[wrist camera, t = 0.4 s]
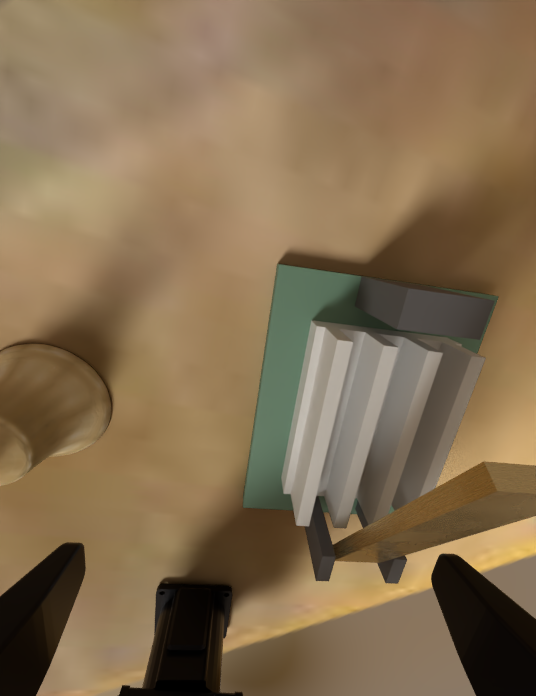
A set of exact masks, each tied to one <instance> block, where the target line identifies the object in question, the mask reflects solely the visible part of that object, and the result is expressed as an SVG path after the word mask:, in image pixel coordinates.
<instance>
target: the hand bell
mask: <svg viewBox="0 0 536 696" xmlns="http://www.w3.org/2000/svg"><path fill="white" fill-rule="evenodd" d="M110 417H111V401H110V397H109V393H108V390H107V388H106V386H105V384H104V382H103V381H102V379H101V378H100V377H99V375H98V374H97V373H96V371H95V370H94V369H93V368H92V367H91V366H90V365H89V364H87V363H86V362H85V361H83V360H82V359H80V358H79V357H77V356H75V355H74V354H72V353H70V352H68V351H66V350H63V349H61V348H57V347H54V346H50V345H45V344H23V345H16V346H12V347H9V348H6V349H4V350H2V351H0V486H1V485H6V484H9V483H12V482H15V481H17V480H18V479H20V478H22V477H23V476H25V475H26V474H27V473H28V472H29V471H30V470H32V469H33V468H34V467H35V466H36V465H38V464H39V463H41V462H42V461H43V460H45V459H46V458H48V457H49V456H62V455H68V454H72V453H75V452H78V451H81V450H83V449H85V448H87V447H89V446H90V445H92V444H93V443H95V442H96V441H97V440H98V439H99V438H100V437H101V436H102V435H103V433H104V432H105V430H106V428H107V426H108V424H109V421H110Z"/></svg>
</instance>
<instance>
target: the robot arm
mask: <svg viewBox="0 0 536 696" xmlns="http://www.w3.org/2000/svg"><path fill="white" fill-rule="evenodd" d="M85 568H86V567H85V552H84V545H83V544H82V543H69V542H68V543H64V544H62V545H61V546H59V547H58V548H57V549H56V550H55V551H53V552H52V553H51V554H50V555H49V556H47V557H46V558H45V559H44V560H43V561H42V562H40V563H39V564H38V565H37V566H36V567H34V568H33V569H32V570H31V571H30V572H29V573H27V574H26V575H25V576H24V577H23V578H21V579H20V580H19V581H18V582H17V583H16V584H14V585H13V586H12V587H11V588H10V589H8V590H7V591H6V592H5V593H4V594H2V595H1V596H0V696H36V694H37V692H38V690H39V688H40V686H41V684H42V682H43V680H44V677H45V675H46V673H47V671H48V669H49V666H50V664H51V662H52V659H53V657H54V654H55V652H56V649H57V646H58V644H59V641H60V639H61V636H62V633H63V631H64V628H65V626H66V623H67V620H68V618H69V615H70V613H71V610H72V607H73V605H74V602H75V600H76V597H77V594H78V592H79V589H80V587H81V584H82V581H83V579H84V575H85ZM431 580H432V586H433V589H434V591H435V594H436V597H437V599H438V602H439V605H440V608H441V610H442V613H443V616H444V618H445V621H446V624H447V626H448V629H449V632H450V634H451V637H452V640H453V642H454V645H455V648H456V650H457V653H458V655H459V658H460V660H461V663H462V665H463V667H464V670H465V672H466V674H467V676H468V679H469V681H470V683H471V685H472V687H473V690H474V692H475V694H476V696H536V619H535V618H534V617H532V616H531V615H530V614H529V613H528V612H527V611H525V610H524V609H523V608H521V607H520V606H519V605H518V604H517V603H515V602H514V601H513V600H512V599H511V598H509V597H508V596H507V595H506V594H505V593H503V592H502V591H501V590H500V589H498V588H497V587H496V586H495V585H494V584H492V583H491V582H490V581H488V580H487V579H486V578H485V577H484V576H483V575H481V574H480V573H479V572H478V571H477V570H475V569H474V568H473V567H472V566H470V565H469V564H468V563H467V562H466V561H464V560H463V559H462V558H461V557H459V556H458V555H455V554H441V555H439V557H438V559H437V562H436V565H435V567H434V570H433V572H432V576H431ZM231 600H232V588H231V587H230V586H210V585H176V584H161V585H159V586H158V588H157V592H156V609H155V634H154V635H155V636H154V641H153V645H152V649H151V653H150V657H149V662H148V666H147V670H146V674H145V678H144V682H143V687H142V688H130V686H128V685H122V688H121V691H120V694H119V696H243V694H242V692H235V693H220V682H221V666H222V650H223V638H225V637H226V633H227V626H228V620H229V613H230V606H231Z"/></svg>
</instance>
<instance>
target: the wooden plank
mask: <svg viewBox="0 0 536 696" xmlns="http://www.w3.org/2000/svg"><path fill="white" fill-rule="evenodd" d="M533 516H536V466H532V465H520V464H508V463H496V462H482V463H480V464H478V465H477V466H475V467H473V468H471V469H469V470H468V471H466V472H464V473H462V474H460V475H458V476H457V477H455V478H453V479H451V480H449V481H448V482H446V483H444V484H442V485H440V486H439V487H437V488H435V489H433V490H431V491H430V492H428V493H426V494H424V495H422V496H421V497H419V498H417V499H415V500H413V501H411V502H410V503H408V504H406V505H404V506H402V507H401V508H399V509H397V510H395V511H393V512H392V513H390V514H388V515H386V516H384V517H383V518H381V519H379V520H377V521H375V522H373V523H372V524H370V525H368V526H366V527H364V528H363V529H361V530H359V531H357V532H355V533H354V534H352V535H350V536H348V537H346V538H345V539H343V540H341V541H339V542H337V543H336V544H334V545H333V549H334V552H335V556H336V558H335V561H346V562H371V563H381V562H384V561H388V560H391V559H394V558H398V557H401V556H404V555H408V554H411V553H414V552H417V551H421V550H424V549H427V548H431V547H434V546H437V545H441V544H444V543H447V542H451V541H454V540H457V539H461V538H464V537H467V536H470V535H474V534H477V533H480V532H484V531H487V530H490V529H494V528H497V527H500V526H504V525H507V524H510V523H514V522H517V521H520V520H523V519H527V518H530V517H533Z"/></svg>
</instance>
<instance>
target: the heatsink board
mask: <svg viewBox="0 0 536 696" xmlns="http://www.w3.org/2000/svg"><path fill="white" fill-rule="evenodd" d="M498 297H499V296H494V295H489V294H482V293H476V292H469V291H462V290H455V289H448V288H441V287H434V286H428V285H421V284H414V283H407V282H400V281H393V280H386V279H380V278H373V277H366V276H359V275H352V274H345V273H339V272H332V271H325V270H318V269H311V268H304V267H297V266H291V265H284V264H277V269H276V276H275V283H274V289H273V296H272V303H271V310H270V317H269V323H268V330H267V337H266V344H265V351H264V358H263V364H262V371H261V378H260V385H259V392H258V398H257V405H256V412H255V419H254V426H253V433H252V439H251V446H250V453H249V460H248V467H247V473H246V480H245V487H244V494H243V508H259V509H276V510H293V511H294V516H295V522H296V526H305V530H306V535H307V540H308V545H309V550H310V555H311V559H312V564H313V569H314V574H315V579H316V581H329V579H330V575H331V572H332V569H333V565H334V562H335V558H336V556H335V552H334V549H333V545H332V542H331V538H330V535H329V531H328V528H327V524H326V521H325V517H324V514H323V512H328V513H330V517H331V520H332V523H333V526H334V528H347V524H348V521H349V517H350V514H357V515H358V517H359V520H360V522H361V524H362V527H363V528H364V527H366V526H368V525H370V524H372V523H373V522H375V521H377V520H379V519H381V518H383V517H384V516H386V515H388V514H390V513H392V512H393V511H395V510H397V509H399V508H401V507H402V506H404V505H406V504H408V503H410V502H411V501H413V500H415V499H417V498H419V497H421V496H422V495H424V494H426V493H428V492H430V491H431V490H433V489H435V487H436V485H437V482H438V480H439V477H440V474H441V472H442V469H443V467H444V464H445V462H446V459H447V456H448V454H449V451H450V449H451V446H452V444H453V441H454V438H455V436H456V433H457V431H458V428H459V426H460V423H461V420H462V418H463V415H464V413H465V410H466V408H467V405H468V402H469V400H470V397H471V395H472V392H473V390H474V387H475V384H476V382H477V379H478V377H479V374H480V372H481V369H482V366H483V364H484V361H485V359H486V358H485V357H483V356H480V355H478V354H477V353H478V350H479V348H480V345H481V342H482V340H483V337H484V334H485V332H486V329H487V326H488V324H489V321H490V318H491V316H492V313H493V311H494V308H495V305H496V303H497V300H498ZM406 562H407V559H406V557H405V555H404V556H401V557H398V558H394V559H391V560H388V561H384V562H381V563H378V566H379V568H380V571H381V573H382V575H383V578H384V580H385V583H398V582H399V580H400V577H401V574H402V572H403V569H404V567H405V564H406Z"/></svg>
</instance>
